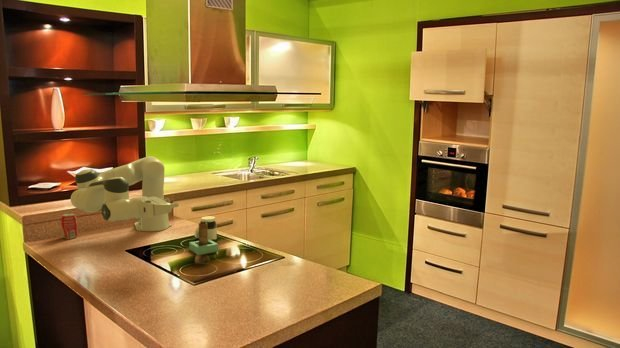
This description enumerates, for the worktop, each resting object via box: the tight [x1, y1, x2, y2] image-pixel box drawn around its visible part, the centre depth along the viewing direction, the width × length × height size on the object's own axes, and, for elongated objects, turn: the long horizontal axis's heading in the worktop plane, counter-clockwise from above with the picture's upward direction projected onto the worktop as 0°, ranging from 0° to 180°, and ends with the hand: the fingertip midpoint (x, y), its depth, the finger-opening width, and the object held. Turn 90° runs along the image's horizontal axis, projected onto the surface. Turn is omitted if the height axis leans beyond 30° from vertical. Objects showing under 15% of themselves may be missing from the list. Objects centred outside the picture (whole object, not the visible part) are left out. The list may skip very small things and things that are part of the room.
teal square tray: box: [188, 239, 219, 256], centre depth 230 cm, size 10×10×4 cm
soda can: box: [60, 212, 79, 240], centre depth 248 cm, size 7×7×12 cm
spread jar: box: [194, 215, 218, 242], centre depth 246 cm, size 12×11×12 cm
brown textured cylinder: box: [198, 220, 208, 246], centre depth 229 cm, size 4×4×14 cm
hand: (174, 202), depth 220 cm, fingers open, 8 cm apart
